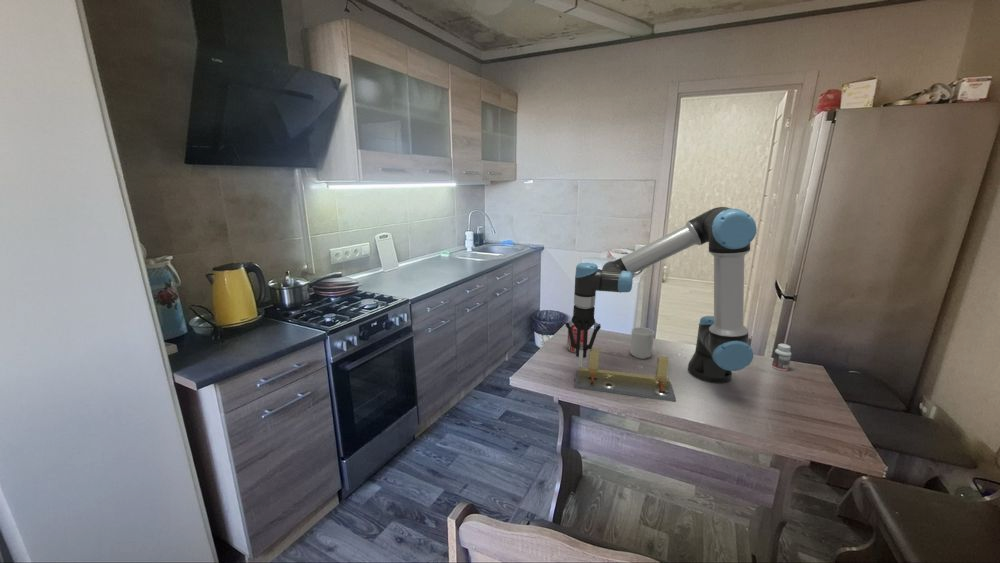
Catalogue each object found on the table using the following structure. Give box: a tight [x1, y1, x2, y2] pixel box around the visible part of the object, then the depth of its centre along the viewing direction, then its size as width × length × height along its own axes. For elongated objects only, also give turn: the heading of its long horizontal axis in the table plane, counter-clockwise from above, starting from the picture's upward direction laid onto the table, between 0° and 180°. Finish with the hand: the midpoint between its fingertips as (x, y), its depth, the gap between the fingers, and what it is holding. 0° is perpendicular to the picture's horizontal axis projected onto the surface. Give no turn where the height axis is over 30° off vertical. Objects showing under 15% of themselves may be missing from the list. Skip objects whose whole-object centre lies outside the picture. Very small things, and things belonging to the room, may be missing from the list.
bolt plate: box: [574, 355, 677, 402], centre depth 140 cm, size 34×11×12 cm, turn 75°
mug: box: [629, 326, 655, 360], centre depth 167 cm, size 12×9×11 cm
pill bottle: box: [771, 343, 792, 372], centre depth 155 cm, size 5×5×10 cm
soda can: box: [566, 323, 584, 354], centre depth 170 cm, size 7×7×13 cm
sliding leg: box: [588, 347, 600, 382], centre depth 143 cm, size 3×8×10 cm, turn 165°
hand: (580, 364), depth 147 cm, fingers closed
